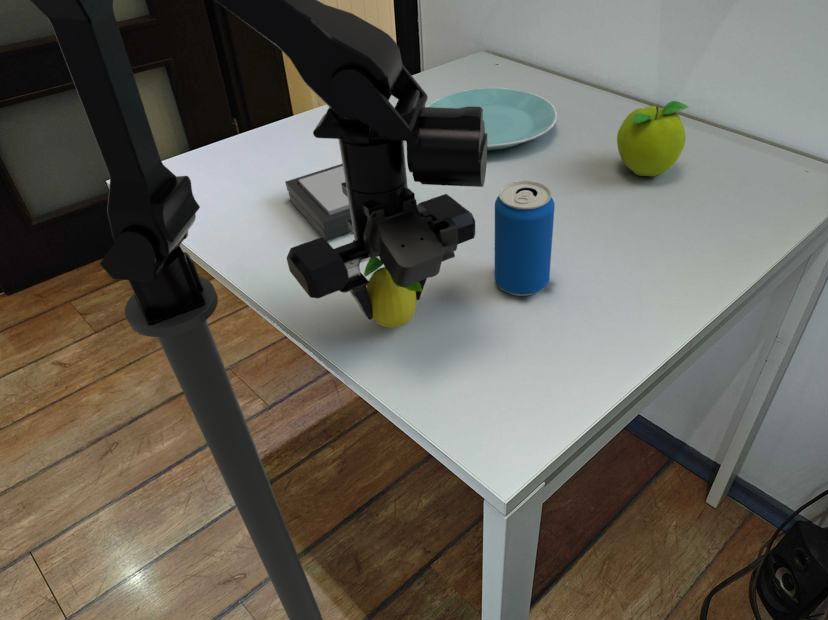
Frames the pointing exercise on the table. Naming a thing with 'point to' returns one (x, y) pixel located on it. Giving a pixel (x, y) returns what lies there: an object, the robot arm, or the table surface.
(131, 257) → the robot arm
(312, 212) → the scale
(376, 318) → the lemon
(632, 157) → the fruit
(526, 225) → the beverage can
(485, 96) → the plate
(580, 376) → the table surface
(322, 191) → the scale pan
